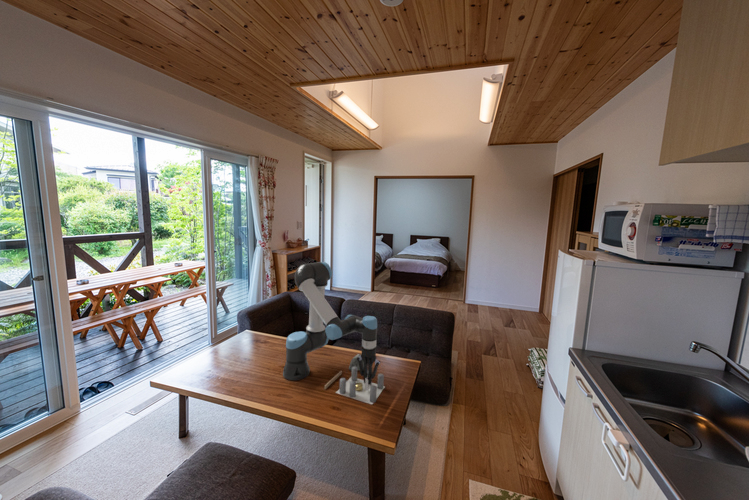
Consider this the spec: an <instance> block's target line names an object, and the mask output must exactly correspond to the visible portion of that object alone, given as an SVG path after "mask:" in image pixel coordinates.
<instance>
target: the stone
mask: <svg viewBox="0 0 749 500" xmlns="http://www.w3.org/2000/svg"><path fill="white" fill-rule="evenodd" d="M361 354H362V353H361ZM361 354H360V353H357V354H356V355H355V356H353V358H352V359H351V361H350V363H349V367H348V370H349V371H351V372H352V367H357V372H358V371H360V369H359V363H358V361H357V357H358V356H361ZM362 361H363V360H362ZM363 367H364V362H363Z"/></svg>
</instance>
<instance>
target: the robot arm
mask: <svg viewBox="0 0 749 500" xmlns="http://www.w3.org/2000/svg"><path fill="white" fill-rule="evenodd" d="M332 277H333V271H332V268H331V266H330V265H329V263H327V262H326V261H317V262H310V263H302V264H300V265H299V266H298V267H297V269H296V270H295V273H294V283H295V285H296V287H297V289H298V291H300V292H302V293H303V294H304V296H305V298H307V300H308V301H309V311H308V312H309V314H308V315H309V316H308V317H309V318H308V325H306V327H305V329H306V330H305V331H295V332H292V333H290V334H288V336H287V337H286V343H285V359H286V360H285V365H284V367H283V371H282V376H283V377H284V378H285V379H286V380H288V381H298V380H299V381H300V380H303V379H305V378H307V377H308V376H309V375H310V370H311V369H310V365H309V362H308V354H309V353H311V352H314V351H317V350H319V349H321V348H323V347H325V346H326V345H328V342H329V340H331V341H334V340H337V339H340V338H342V337H344V336H347V335H350V334H352V333H355V332H356V333H359V334H361V356H358V357H357V361H358V363H359V369H360V370H359V375H360V376H361V377H363V380H364V383H365V390H366V391H368V390H369V388H370V384H371V381H372V380H374V378H375V377H376V374H377V372H378V368H379V366H380V364H381V360H378V359H377V354H376V353H377V337H378V336H377V333H378V319H377V318H376V316H373V315H365V316H363V317H360V316H357V315H355V314H348V315H346V316H345V317H344V319H343V320H341V319H340V317H339V316H338V315H337V313H336V311H335V310H334V309H333V308H332V306H331V305H330V303H329V302H328V301H327V299H326V298H325V293H326V292H325V289H326V287H327V286H328V282H329V280H331V279H332ZM362 360H363V361H362ZM363 362H364V367H363ZM373 365H374V367H373ZM367 375H368V376H367ZM372 382H373V381H372Z"/></svg>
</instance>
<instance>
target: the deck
mask: <svg viewBox="0 0 749 500" xmlns="http://www.w3.org/2000/svg"><path fill="white" fill-rule="evenodd" d="M342 374H343V370H339V372H338V373H336V374H335V375H334V376H333V377H332V378H331V379H329V381H328V382H327V383H325V384H324V386H323V387H324V388H323V390H327V389H328V388H329V387H330V386H331V385H332V384H333V383H334V382H335V381H336V380H337V379H338V378H339V377H340V376H342ZM367 376H368V375H367ZM384 380H385V375H384V374H383V373H378V374H377V383H374V382H373V381H371V384H370V388H369V390H368V391H366V390H365V383H364V379H360V378H358V371H357V367H352V371H351V376H350V377H349V379H346V377H341V378H340V379H339V389H338V390H337V391H335V394H339V395H341V396H344V397H346V398H351V399H354V400H356V401H359V402H362V403H366V404H369V405H373V404H374V403H376V402H377V399H378V397H379V396H380V395H381V393H382V392H383V390H384V389H386V386H384V385H385V384H384V382H385V381H384ZM356 383H362V384H363V389H362V390H361V391H356Z"/></svg>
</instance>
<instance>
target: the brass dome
mask: <svg viewBox="0 0 749 500" xmlns="http://www.w3.org/2000/svg"><path fill="white" fill-rule="evenodd" d="M362 389H363V384H362V383H356V391H361V390H362Z"/></svg>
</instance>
